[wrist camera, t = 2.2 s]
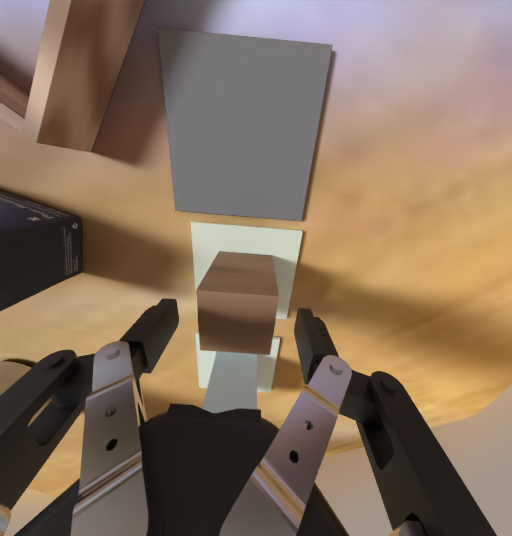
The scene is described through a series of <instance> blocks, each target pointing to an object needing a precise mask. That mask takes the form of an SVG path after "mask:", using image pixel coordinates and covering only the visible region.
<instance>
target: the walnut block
mask: <svg viewBox="0 0 512 536" xmlns="http://www.w3.org/2000/svg"><path fill="white" fill-rule="evenodd" d="M196 295H197V310H198V326H199V341H200V350H202V351H217V352H231V353H246V354H260V355H270V352H271V346H272V339H273V333H274V326H275V319H276V313H277V306H278V300H279V293H278V288H277V282H276V276H275V270H274V264H273V258H272V255H262V254H249V253H236V252H224V251H219V252H218V254H217V255H216V257H215V259H214V261H213V262H212V264H211V266H210V267H209V269H208V271H207V273H206V274H205V276H204V278H203V279H202V281H201V283H200V285H199V286H198V288H197V290H196Z"/></svg>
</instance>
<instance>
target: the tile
mask: <svg viewBox="0 0 512 536" xmlns="http://www.w3.org/2000/svg"><path fill="white" fill-rule="evenodd" d="M191 231H192V246H193V261H194V276H195V291H196V290H197V288H198V286H199V285H200V283H201V281H202V279H203V278H204V276H205V274H206V273H207V271H208V269H209V267H210V266H211V264H212V262H213V261H214V259H215V257H216V255H217V254H218V252H219V251H224V252H236V253H249V254H262V255H272V258H273V264H274V270H275V276H276V282H277V288H278V293H279V300H278V306H277V313H276V319H287V314H288V309H289V303H290V298H291V293H292V287H293V282H294V276H295V271H296V265H297V260H298V254H299V249H300V244H301V238H302V233H303V231H302V230H296V229H284V228H271V227H259V226H247V225H234V224H222V223H210V222H197V221H192V222H191ZM196 306H197V295H196ZM197 313H198V310H197Z"/></svg>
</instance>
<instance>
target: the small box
mask: <svg viewBox="0 0 512 536" xmlns="http://www.w3.org/2000/svg"><path fill="white" fill-rule="evenodd" d="M81 238H82V227H81V219H80V218H79V217H77V216H74V215H71V214H68V213H65V212H62V211H60V210H57V209H54V208H51V207H48V206H45V205H42V204H39V203H37V202H33V201H31V200H28V199H25V198H22V197H19V196H16V195H13V194H10V193H8V192H5V191H2V190H0V311H2V310H5V309H6V308H8V307H10V306H13V305H15V304H17V303H18V302H20V301H22V300H24V299H27V298H29V297H31V296H33V295H35V294H37V293H39V292H41V291H43V290H45V289H47V288H49V287H51V286H53V285H56V284H58V283H60V282H62V281H64V280H67V279H69V278H71V277H73V276H76V275H78V274H80V273H82V254H81V253H82V251H81V250H82V248H81V246H82V241H81Z"/></svg>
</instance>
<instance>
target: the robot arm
mask: <svg viewBox="0 0 512 536" xmlns="http://www.w3.org/2000/svg"><path fill="white" fill-rule="evenodd" d="M178 323H179V315H178V308H177V301H176V300H175V299H165V298H163V299H162V300H161V301H160V302H159V303H158V304H157V306H152V307H150V308H149V309H147V310H146V311H145V312H144V313H143V314H142V315H141V316H140V318H139V319H138V320H137V321H136V323H134V324H133V325H132V327H131V328H130V329H129V330H128V331H127V332H126V333H125V335H124V336H123V337H122V338H121V339H120V340H119V341H116V342H112V343H110V344H107V345H105V346H104V347H102V348H101V349H100V350H99V351H98V352H97V353H96V354H90V355H85V356H79V357H77V356H76V354H75V352H74V351H73V350H61V351H58V352H55V353H52V354H50V355H48V356H47V357H45V358H43V359H42V360H40V361H39V362H38V363H37V364H36V365H35V366H33V367H32V368H31V367H28V366H26V365H23V364H19V363H15V362H7V361H2V362H0V536H3V535H4V534H5V532H6V530H7V527H8V525H9V522H10V518H11V509H12V508H13V506H14V505H15V504H16V502H17V501H18V500H19V498H20V497H21V495H22V494H23V493H24V491H25V490H26V488H27V487H28V486H29V484H30V483H31V481H32V480H33V479H34V477H35V476H36V474H37V473H38V472H39V470H40V469H41V468H42V466H43V465H44V463H45V462H46V461H47V459H48V458H49V456H50V455H51V454H52V452H53V451H54V449H55V448H56V447H57V445H58V444H59V442H60V441H61V440H62V438H63V437H64V435H65V434H66V433H67V431H68V430H69V428H70V427H71V426H72V424H73V423H74V421H75V420H76V419H77V417H78V416H79V414H80V413H81V412H82V410H83V409H84V408H85V420H84V433H83V446H82V459H81V473H80V478H79V479H78V480H77V481H76V482H75V483H74V484H72V485H71V486H70V487H69V488H68V489H67V490H65V491H64V492H63V493H62V494H61V495H60V496H59V497H57V498H56V499H55V500H54V501H53V502H52V503H51V504H49V505H48V506H47V507H46V508H45V509H44V510H42V511H41V512H40V513H39V514H38V515H37V516H36V517H34V518H33V519H32V520H31V521H30V522H29V523H28V524H26V525H25V526H24V527H23V528H22V529H21V530H20V531H18V532H17V533H16V534H15V535H14V536H349V534H348V533H347V531H346V530H345V528H344V527H343V525H342V524H341V522H340V520H339V519H338V517H337V516H336V514H335V513H334V511H333V510H332V508H331V507H330V505H329V504H328V502H327V500H326V499H325V497H324V496H323V494H322V493H321V491H320V490H319V488H318V487H317V485H316V483H315V479H316V476H317V474H318V470H319V468H320V465H321V462H322V460H323V457H324V454H325V451H326V448H327V445H328V443H329V440H330V437H331V434H332V431H333V429H334V426H335V423H336V420H337V417H338V415H339V414H341V415H344V416H346V417H348V418H351V419H353V420H356V423H357V426H358V429H359V432H360V435H361V438H362V441H363V444H364V447H365V450H366V453H367V456H368V458H369V461H370V464H371V467H372V470H373V473H374V476H375V479H376V482H377V485H378V488H379V491H380V494H381V497H382V500H383V503H384V506H385V509H386V512H387V514H388V517H389V520H390V523H391V526H392V529H393V532H392V533H390V534H389V536H497V535H496V534H495V532H494V530H493V529H492V527H491V526H490V524H489V522H488V521H487V519H486V518H485V516H484V514H483V513H482V511H481V510H480V508H479V506H478V505H477V503H476V502H475V500H474V498H473V497H472V495H471V494H470V492H469V490H468V489H467V487H466V486H465V484H464V483H463V481H462V479H461V478H460V476H459V474H458V473H457V471H456V470H455V468H454V467H453V465H452V463H451V462H450V460H449V458H448V457H447V455H446V454H445V452H444V450H443V449H442V447H441V446H440V444H439V443H438V441H437V439H436V438H435V436H434V434H433V433H432V431H431V430H430V428H429V426H428V425H427V423H426V422H425V420H424V419H423V417H422V415H421V414H420V412H419V411H418V409H417V407H416V406H415V404H414V403H413V401H412V399H411V398H410V396H409V395H408V393H407V391H406V390H405V388H404V387H403V385H402V384H401V383H400V382H399V381H398V380H397V379H396V378H394V377H393V376H391V375H390V374H387V373H385V372H381V371H376V372H374V373H372V375H371V377H370V376H367V375H364V374H362V373H359V372H356V371H354V370H352V369H351V368H350V366H349V365H348V364H347V363H346V362H345V361H344V360H343V359H341V358H339V356H338V353H337V351H336V349H335V346H334V344H333V342H332V340H331V337H330V336H329V333H328V331H327V328H326V326H325V323H324V322H323V321H322V320H321V319H320V318H319V317H314V316H313V313H312V311H311V309H306V308H299V309H298V312H297V317H296V322H295V328H294V334H295V339H296V344H297V349H298V354H299V358H300V363H301V368H302V373H303V377H304V382H305V384H308V386H307V387H306V386H305V387H304V389H303V390H302V392H301V394H300V395H299V397H298V399H297V401H296V402H295V404H294V406H293V407H292V409H291V411H290V413H289V414H288V416H287V418H286V419H285V421H284V423H283V425H282V426H281V428H280V430H279V429H278V428H277V427H276V426H275V425H274V424H272V423H271V422H269V421H268V420H266V419H264V418H261V410H258V409H243V408H237V409H233V410H228V411H224V412H219V413H212V412H209V411H207V410H204V409H201V408H199V407H196V406H194V405H183V404H170V407H169V409H168V412H165V413H162V414H159V415H157V416H155V417H153V418H151V419H149V420H148V421H147V417H146V412H145V407H144V401H143V395H142V389H141V383H140V379H139V378H140V377H141V375H142V373H151V372H152V370H153V369H154V367H155V365H156V363H157V362H158V360H159V358H160V356H161V355H162V353H163V351H164V349H165V348H166V346H167V344H168V342H169V341H170V339H171V337H172V335H173V334H174V332H175V330H176V328H177V326H178ZM85 406H86V407H85Z"/></svg>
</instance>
